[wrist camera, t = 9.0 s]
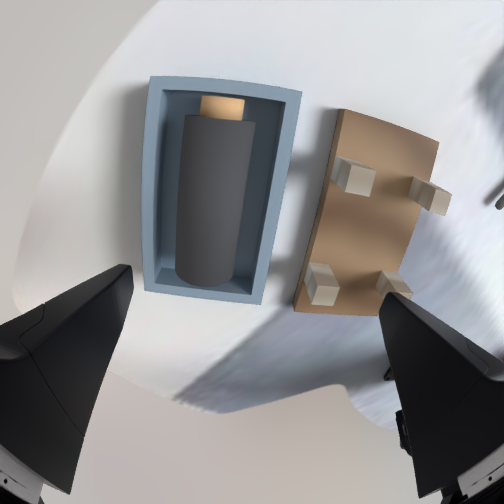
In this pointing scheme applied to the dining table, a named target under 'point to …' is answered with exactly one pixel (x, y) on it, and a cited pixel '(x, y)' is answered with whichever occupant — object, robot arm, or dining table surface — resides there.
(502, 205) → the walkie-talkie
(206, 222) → the tan-capped grey cylinder
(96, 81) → the dining table surface
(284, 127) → the tray
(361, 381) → the dining table surface
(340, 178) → the block
